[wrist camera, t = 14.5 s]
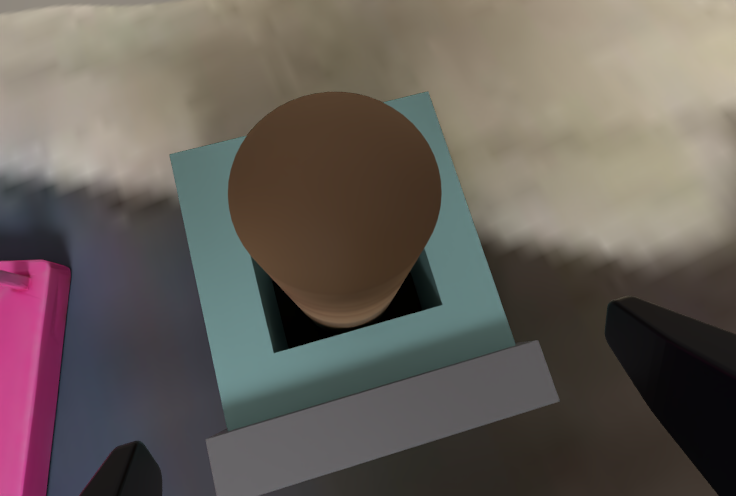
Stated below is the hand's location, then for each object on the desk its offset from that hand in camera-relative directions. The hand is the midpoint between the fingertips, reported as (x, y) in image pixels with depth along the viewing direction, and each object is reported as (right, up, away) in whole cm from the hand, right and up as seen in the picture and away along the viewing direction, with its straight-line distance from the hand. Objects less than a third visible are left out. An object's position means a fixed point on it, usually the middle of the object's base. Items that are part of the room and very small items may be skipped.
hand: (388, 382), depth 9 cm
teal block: (-2, +2, +13) cm, 13 cm away
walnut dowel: (-1, +1, +13) cm, 13 cm away
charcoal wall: (0, -4, +12) cm, 12 cm away
